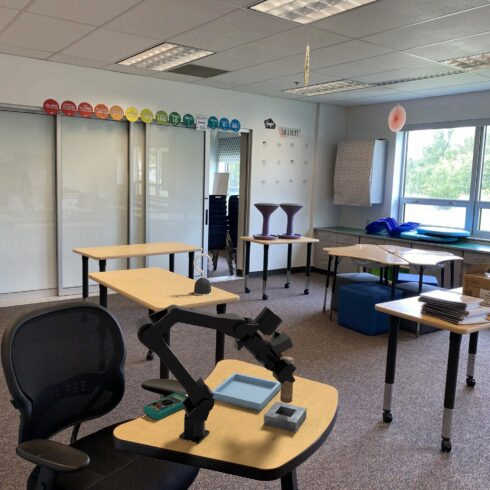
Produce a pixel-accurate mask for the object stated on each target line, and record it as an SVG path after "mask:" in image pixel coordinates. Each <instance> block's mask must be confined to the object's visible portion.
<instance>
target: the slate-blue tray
mask: <svg viewBox="0 0 490 490" xmlns="http://www.w3.org/2000/svg"><path fill="white" fill-rule="evenodd" d="M211 391H212V393H213V394H214V396H212V397H213V399H214V401H218V402H222V403H225V404H229V405H234V406H237V407H241V408H246V409H249V410H254V411H258V412H262V410H264V409H265V407H267V405H268V404H269V403H270V402H271V401H272V399H274V398H275V397H276V396H277V395H278V393H279V392H281V383H280V382H279V381H277V380H275V381H274V380H271V379H267V378H261V377H257V376H251V375H247V374H243V373H238V372H234V373H232V374H231V375H229V377H227V378H226V379H225V380H223V382H220V384H218V385H217V386H216V387H215V388H214V389H213V390H211Z"/></svg>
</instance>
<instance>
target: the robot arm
mask: <svg viewBox="0 0 490 490" xmlns="http://www.w3.org/2000/svg"><path fill="white" fill-rule="evenodd" d="M283 322H284V321H283V320H282V318H281V317H280V316H279V315H277V314H275V313H274V312H273V311H272V310H271V309H270V308H269V307H267V306H264V307H263V309H261V312H260V313H258V315H257V316H256V317H255V318H254V319H253V318H252V317H248V316H247V317H246V316H241V315H240V314H238V313H228V312H227V313H213V312H207V311H203V310H198V309H193V308H189V307H185V306H184V307H183V306H179V305H178V304H170V305H168V306H167V307H165V308H163V309H161V310H159V311H156V312H153V313H151V314H149V315H148V316H144V317H141V318H139V319H138V320H137V321H136V322H135V324H134V332H135V334H136V337H137V339H138V342H140V343H141V344H142V345H143V346H144V347H146V348H147V349H148V350H150V351H151V352H152V353H154V354H155V355H156V356H157V357H158V358H159V360H160V361H162V364H164V366H165V367H166V369H168V370H169V372H170V373H171V374H172V376H173V377H174V378H175V379H176V380H177V382H178V383H179V384H180V386H181V387H182V388H183V389H184V390H185V392H186V396H188V397H187V398H186V399H185V400H184V401H183V402H182V403H181V404H182V407H183V409H182V410H183V411H184V412H185V413H184V418H183V431H182V432H181V433H180V434H179V436H178V437H179V439H182V440H186V441H190V442H193V443H195V444H196V443H197V444H199V443H201V442H202V441H203V440H204V439H205V438H206V437H207V436H208V435H209V434H210V433H211V432H210V430H207V429H206V421H207V420H208V418H209V415H210V412H211V411H212V410H213V409H214V406H215V404H216V402H215V401H216V400H214V399H213V397H212V396H214V394H213V393H212V390H211V388H210V387H209V385H207V384H206V383H205V381H204V379H203V378H202V377H201V376H200V377H199V378H198V379H197V378H195V377H193V376H192V373H190V372H189V371H188V369H187V368H186V367H185V366H184V364H183V362H182V361H181V360H180V359H179V358H178V356H177V355H176V354H175V352H174V351H173V350H172V349H171V347H170V346H169V345H168V344H167V343H166V341H165V338H164V337H163V335H164V334H166V333H167V332H168V331H169V330H170V329H171V328H172V327H173V326H174V325H176V324H178V323H180V324H185V325H190V326H196V327H199V328H200V327H201V328H205V329H210V330H216V331H218V332H220V333H222V334H224V335H226V336H229V337H231V338H233V340H234V343H233V347H234V348H235V349H236V350H237V351H239V352H240V351H241V350H242V348H244V349H245V350H246V351H247V352H248V353H249V354H250V355H251V356H252V357H254V360H256V361H257V362H258V363H259V364H261V365H262V366H263V367H264V368H265V369H266V370H267V371H269V372H272V377H274V379H275V381H276V382H280V383H281V384H283V383H284V382H285V381H288V382H291V383H293V384H294V383H295V382H296V379H295V377H294V373H295V371H296V370H297V366H295V364H294V365H293V364H292V363H291V362H290V361H289V360H287V359H285V360H284V359H282V358H283V356H284V355H283V354H282V353H284V352H285V351H287V350H289V349H292V348H294V343H293V341H292V338H291V336H290V335H288V333H286V332H281V333H280V332H279V331H277V329H278V328H279V327H280V326H281V324H282V323H283ZM259 332H260V333H261V334H260V333H259ZM262 335H263V336H264V337H266V336H267V337H270V336H271V338H270V341H268V339H265V338H264V337H263V336H262ZM292 373H293V375H292Z"/></svg>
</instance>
